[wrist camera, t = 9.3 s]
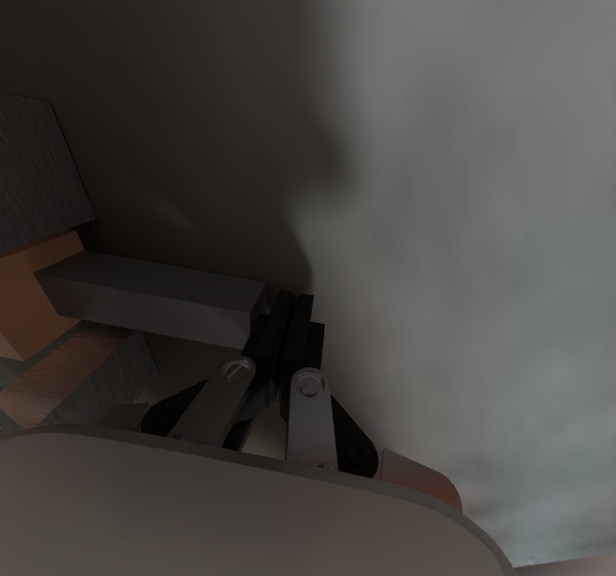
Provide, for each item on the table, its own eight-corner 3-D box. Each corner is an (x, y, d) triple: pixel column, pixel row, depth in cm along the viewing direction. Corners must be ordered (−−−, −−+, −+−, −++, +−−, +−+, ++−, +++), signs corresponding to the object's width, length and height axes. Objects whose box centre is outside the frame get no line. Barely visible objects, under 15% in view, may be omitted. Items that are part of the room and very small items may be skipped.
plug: (266, 263, 12) (229, 327, 8) (264, 330, 14) (235, 403, 10) (-80, 203, 12) (-266, 235, 9) (-23, 277, 15) (-147, 327, 11)
